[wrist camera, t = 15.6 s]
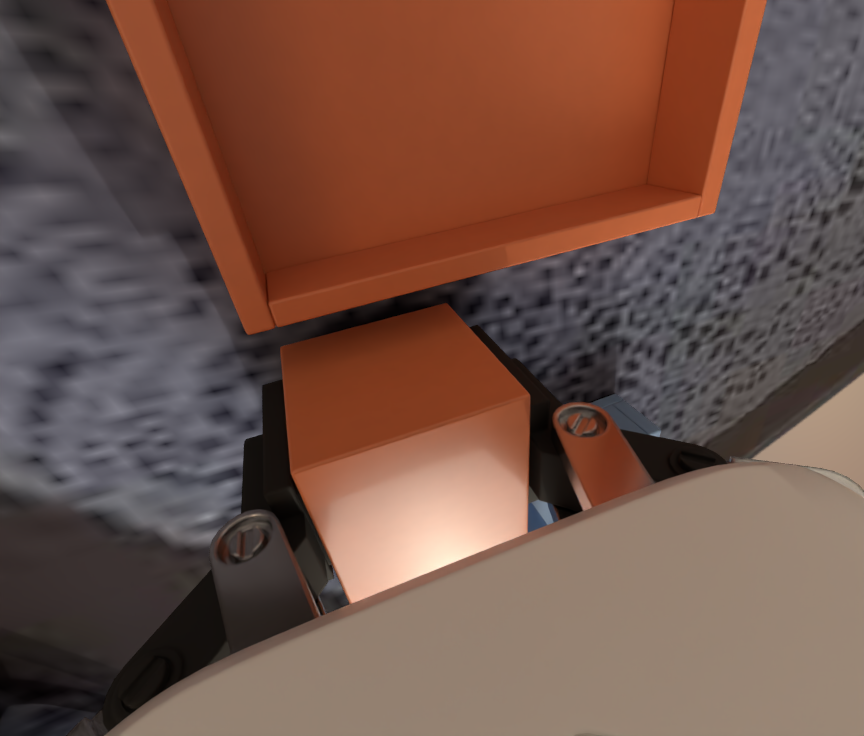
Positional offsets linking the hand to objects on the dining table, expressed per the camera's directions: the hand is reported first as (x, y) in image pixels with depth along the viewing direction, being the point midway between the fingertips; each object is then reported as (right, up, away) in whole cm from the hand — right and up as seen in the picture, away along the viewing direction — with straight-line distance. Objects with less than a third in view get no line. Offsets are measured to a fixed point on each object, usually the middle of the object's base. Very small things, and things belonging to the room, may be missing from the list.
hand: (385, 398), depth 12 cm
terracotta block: (0, 0, 0) cm, 0 cm away
